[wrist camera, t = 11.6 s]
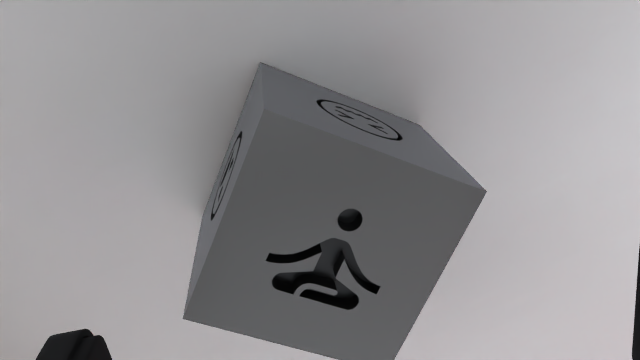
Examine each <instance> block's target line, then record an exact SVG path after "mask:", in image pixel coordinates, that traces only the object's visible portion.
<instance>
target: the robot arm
mask: <svg viewBox="0 0 640 360" xmlns="http://www.w3.org/2000/svg"><path fill="white" fill-rule="evenodd" d="M632 359H633V360H640V248H639V262H638V276H637V290H636V304H635V319H634V333H633V347H632ZM36 360H112V358H111V355H110V353H109V350H108V348H107V345H106V342H105V340H104V338H103V337H102V336H100V335H97V336H93V334H92V333H91V331H90V330H88V329H82V330H77V331H71V332H66V333H61V334H56V335H52V336H50V337H49V338H48V339H47V341H46V343H45V344H44V346H43V348H42V349H41V351H40V353H39V355H38V356H37V358H36Z"/></svg>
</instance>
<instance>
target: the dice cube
mask: <svg viewBox="0 0 640 360" xmlns="http://www.w3.org/2000/svg"><path fill="white" fill-rule="evenodd" d="M486 192H487V191H486V190H485V189H484V188H483V187H482V186H481V185H480V184H479V183H478V182H477V181H476V180H475V179H474V178H473V177H472V176H471V175H470V174H469V173H468V172H467V171H466V170H465V169H464V168H463V167H462V166H461V165H460V164H458V163H457V162H456V161H455V160H454V159H453V158H452V157H451V156H450V155H449V154H448V153H447V152H446V151H445V150H444V149H443V148H442V147H441V146H440V145H439V144H438V143H437V142H436V141H435V140H434V139H433V138H432V137H431V136H430V135H429V134H428V133H427V132H426V131H425V130H424V129H423V128H422V127H421V126H420V125H418V124H416V123H413V122H411V121H408V120H406V119H403V118H401V117H398V116H395V115H393V114H390V113H388V112H385V111H383V110H380V109H378V108H375V107H373V106H370V105H367V104H365V103H362V102H360V101H357V100H355V99H352V98H350V97H347V96H345V95H342V94H339V93H337V92H334V91H332V90H329V89H327V88H324V87H322V86H319V85H317V84H314V83H312V82H309V81H306V80H304V79H301V78H299V77H296V76H294V75H291V74H289V73H286V72H284V71H281V70H278V69H276V68H273V67H271V66H268V65H266V64H263V63H261V62H260V64H259V67H258V70H257V72H256V75H255V78H254V80H253V83H252V86H251V88H250V91H249V94H248V96H247V99H246V102H245V104H244V107H243V110H242V112H241V115H240V118H239V120H238V123H237V126H236V128H235V131H234V134H233V136H232V139H231V142H230V144H229V147H228V150H227V153H226V155H225V158H224V161H223V163H222V166H221V169H220V171H219V174H218V177H217V179H216V182H215V185H214V187H213V190H212V193H211V195H210V198H209V201H208V203H207V206H206V209H205V211H204V214H203V217H202V221H201V226H200V231H199V236H198V242H197V247H196V252H195V257H194V263H193V268H192V273H191V278H190V284H189V289H188V294H187V300H186V305H185V310H184V315H183V319H186V320H190V321H193V322H197V323H201V324H205V325H209V326H212V327H216V328H220V329H224V330H228V331H231V332H235V333H239V334H243V335H247V336H251V337H254V338H258V339H262V340H266V341H270V342H273V343H277V344H281V345H285V346H289V347H293V348H296V349H300V350H304V351H308V352H312V353H315V354H319V355H323V356H327V357H331V358H335V359H338V360H394V359H395V357H396V355H397V353H398V352H399V350H400V348H401V346H402V344H403V342H404V341H405V339H406V337H407V335H408V333H409V332H410V330H411V328H412V326H413V324H414V323H415V321H416V319H417V317H418V315H419V314H420V312H421V310H422V308H423V306H424V304H425V303H426V301H427V299H428V297H429V295H430V294H431V292H432V290H433V288H434V286H435V285H436V283H437V281H438V279H439V277H440V275H441V274H442V272H443V270H444V268H445V266H446V265H447V263H448V261H449V259H450V257H451V256H452V254H453V252H454V250H455V248H456V247H457V245H458V243H459V241H460V239H461V237H462V236H463V234H464V232H465V230H466V228H467V227H468V225H469V223H470V221H471V219H472V218H473V216H474V214H475V212H476V210H477V208H478V207H479V205H480V203H481V201H482V199H483V198H484V196H485V194H486Z"/></svg>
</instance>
